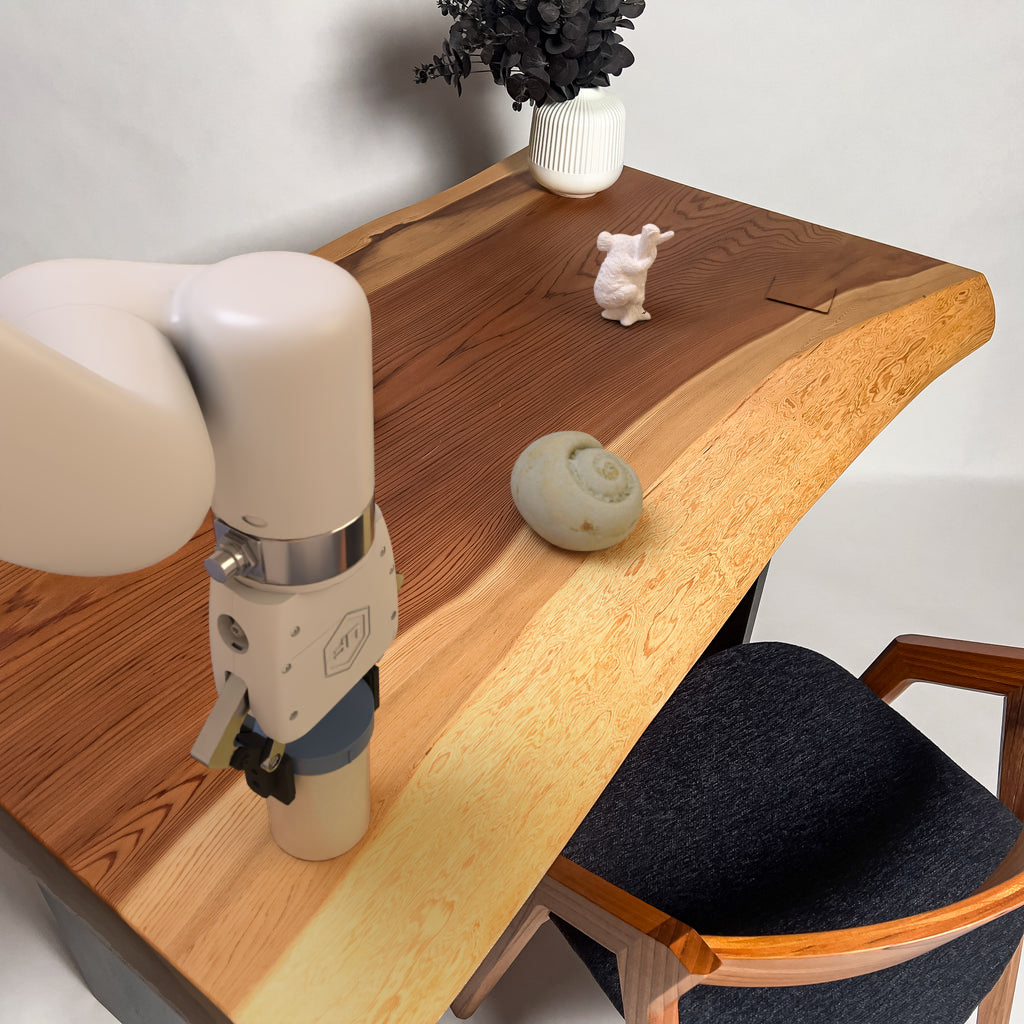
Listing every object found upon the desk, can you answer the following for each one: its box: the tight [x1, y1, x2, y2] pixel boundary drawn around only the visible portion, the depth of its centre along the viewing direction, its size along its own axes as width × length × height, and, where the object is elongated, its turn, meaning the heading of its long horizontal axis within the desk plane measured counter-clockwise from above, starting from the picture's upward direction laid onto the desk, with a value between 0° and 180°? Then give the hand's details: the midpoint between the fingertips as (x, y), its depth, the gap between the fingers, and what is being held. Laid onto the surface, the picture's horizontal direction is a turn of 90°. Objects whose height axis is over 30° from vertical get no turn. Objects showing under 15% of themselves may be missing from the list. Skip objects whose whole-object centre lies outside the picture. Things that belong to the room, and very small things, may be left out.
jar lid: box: [253, 678, 375, 775], centre depth 55 cm, size 7×7×2 cm
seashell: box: [510, 430, 644, 552], centre depth 84 cm, size 13×8×10 cm
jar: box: [265, 740, 372, 862], centre depth 59 cm, size 6×6×10 cm
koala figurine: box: [593, 223, 675, 327], centre depth 112 cm, size 8×7×12 cm
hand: (315, 741), depth 57 cm, fingers closed on jar lid, 7 cm apart
